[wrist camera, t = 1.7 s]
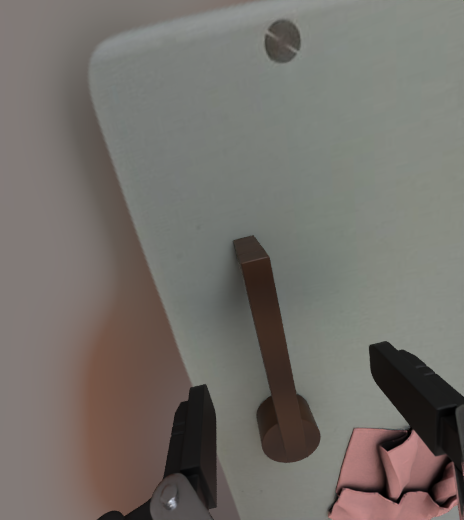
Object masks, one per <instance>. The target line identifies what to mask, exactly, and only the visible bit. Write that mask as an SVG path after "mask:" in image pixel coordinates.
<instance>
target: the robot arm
mask: <svg viewBox="0 0 464 520" xmlns="http://www.w3.org/2000/svg"><path fill="white" fill-rule="evenodd" d="M369 355H370V368H371V373H372V376H373V379H374V380H375V382H376V384H377V385H378V386H379V388H380V389H381V390H382V391H383V392H384V394H385V395H386V396H387V397H388V399H389V400H390V401H391V402H392V404H393V405H394V406H395V407H396V409H397V410H398V411H399V412H400V414H401V415H402V416H403V417H404V418H405V420H406V421H407V422H408V423H409V425H410V426H411V427H412V428H413V430H414V431H415V432H416V433H417V435H418V436H419V437H420V438H421V440H422V441H423V442H424V443H425V445H426V446H427V447H428V448H429V449H430V451H431V452H432V453H433V454H434V456H435V457H436V456H441V455H445V454H447V455H448V457H449V458H450V459H451V460H452V461H453V473H454V481H455V488H456V495H457V502H458V510H459V517H460V520H464V397H463V396H462V395H461V394H460V393H458V392H457V391H456V390H455V389H454V388H453V387H451V386H450V385H449V384H448V383H447V382H446V381H444V380H443V379H442V378H441V377H440V376H439V375H437V374H435V372H434V371H433V370H432V369H430V368H429V367H427V366H426V364H425V363H423V362H422V361H421V360H420V359H419V358H418V357H416V356H415V355H413V354H411V353H409V352H407V351H405V350H399V351H398V350H397V349H396V348H394V347H393V346H392V345H391V344H390V343H389V342H387V341H384V342H380V343H376V344H372V345H370V346H369ZM171 435H172V436H171V438H170V444H169V450H168V455H167V461H166V466H165V472H164V477H163V480H162V481H161V482H160V483H159V484H158V486H157V487H156V489H155V491H154V492H153V495H152V497H151V498H150V499H149V500H148V501H147V502H146V503H144V504H143V505H141V506H140V507H138V508H137V509H135V510H133V511H132V512H130V513H129V514H127V515H126V516H123V515H122V513H120V512H119V511H110V512H108V513H106V514H104V515H103V516H101V517H100V518H99V519H97V520H214V519H213V518H212V516H211V515H210V513H209V511H208V510H209V509H211V508H216V507H217V493H216V492H217V491H216V490H217V486H216V485H217V482H216V481H217V479H216V414H215V409H214V406H213V403H212V400H211V397H210V394H209V391H208V388H207V385H206V384H203V385H199V386H195V387H191V388H190V391H189V399H188V401H185V402H181V403H180V405H179V407H178V409H177V411H176V412H175V416H174V422H173V427H172V433H171Z"/></svg>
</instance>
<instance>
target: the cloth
mask: <svg viewBox="0 0 464 520" xmlns="http://www.w3.org/2000/svg"><path fill="white" fill-rule="evenodd" d="M336 493H337V496H339V498H338V501H336V503H335V504H334V506H333V509H331V510H330V511H329V513H328V517H329V518H331V519H332V520H430V519H431V518H433V517H438V516H440V515H443V514H445V513H447V512H449V511H450V510H451V509H452V508H453V507H454V506H456V505H458V502H457V495H456V488H455V481H454V473H453V461H452V460H451V459H450V458H449V457H448V455H447V454H445V455H441V456H436V457H435V456H434V454H433V453H432V452H431V451H430V449H429V448H428V447H427V446H426V445H425V443H424V442H423V441H422V440H421V438H420V437H419V436H418V435H417V433H416V432H415V431H414V430H412V433H411V435H410V437H409V438H408V437H407V431H405V430H385V429H369V428H354V430H353V433H352V436H351V439H350V442H349V445H348V448H347V451H346V455H345V458H344V461H343V464H342V468H341V472H340V477H339V480H338V484H337V488H336Z"/></svg>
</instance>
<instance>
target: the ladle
mask: <svg viewBox="0 0 464 520" xmlns="http://www.w3.org/2000/svg"><path fill="white" fill-rule="evenodd" d="M233 242H234V247H235V251H236V255H237V259H238V262H239V266H240V269H241V272H242V275H243V279H244V283H245V287H246V291H247V295H248V300H249V304H250V308H251V312H252V316H253V321H254V325H255V329H256V333H257V337H258V342H259V346H260V350H261V354H262V358H263V363H264V367H265V371H266V375H267V379H268V384H269V388H270V392H271V396H270V397H269V398H267V399H266V400H265V401H263V403H262V404H261V405H260V406H259V408H258V411H257V422H258V428H259V433H260V439H261V444H262V449H263V451H264V453H265V454H266V455H267V456H268V457H269V458H270V459H272V460H274V461H277V462H283V463H290V462H296V461H299V460H302V459H304V458H306V457H308V456H309V455H311V454H312V453H313V452H314V451H315V450H316V449H317V447H318V445H319V443H320V431H319V429H318V426H317V424H316V422H315V419H314V417H313V415H312V412H311V410H310V408H309V405H308V403H307V401H306V400H305V399H304V398H303V397H301V396H300V395H298V394H296V390H295V385H294V380H293V375H292V369H291V364H290V359H289V354H288V349H287V344H286V339H285V334H284V329H283V324H282V318H281V313H280V308H279V303H278V298H277V293H276V288H275V283H274V278H273V273H272V268H271V262H270V257H269V256H268V254H267V253H266V252H265V250H264V249H263V247H262V246H261V245H260V243H259V242H258V241H257V239H256V238H255V237H254V236H249V237H245V238H241V239H237V240H233Z"/></svg>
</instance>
